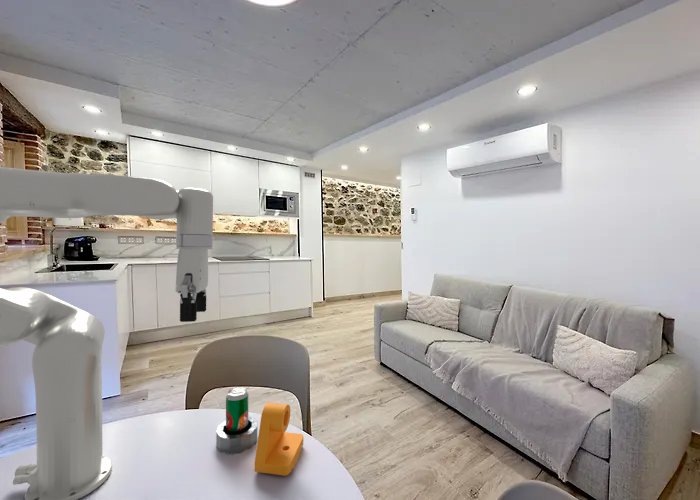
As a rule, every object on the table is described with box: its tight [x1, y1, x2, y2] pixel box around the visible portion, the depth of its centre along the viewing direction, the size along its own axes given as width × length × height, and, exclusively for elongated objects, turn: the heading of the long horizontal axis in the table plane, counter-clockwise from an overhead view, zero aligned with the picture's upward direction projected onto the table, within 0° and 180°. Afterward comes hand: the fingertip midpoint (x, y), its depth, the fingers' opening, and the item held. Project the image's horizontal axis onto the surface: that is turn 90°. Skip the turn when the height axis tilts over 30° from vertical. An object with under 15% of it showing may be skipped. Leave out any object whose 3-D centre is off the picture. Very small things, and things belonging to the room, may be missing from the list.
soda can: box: [225, 386, 249, 435], centre depth 74 cm, size 5×5×12 cm
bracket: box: [254, 402, 304, 477], centre depth 68 cm, size 11×7×12 cm, turn 171°
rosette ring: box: [215, 416, 258, 455], centre depth 74 cm, size 9×9×4 cm
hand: (193, 316), depth 72 cm, fingers open, 9 cm apart
